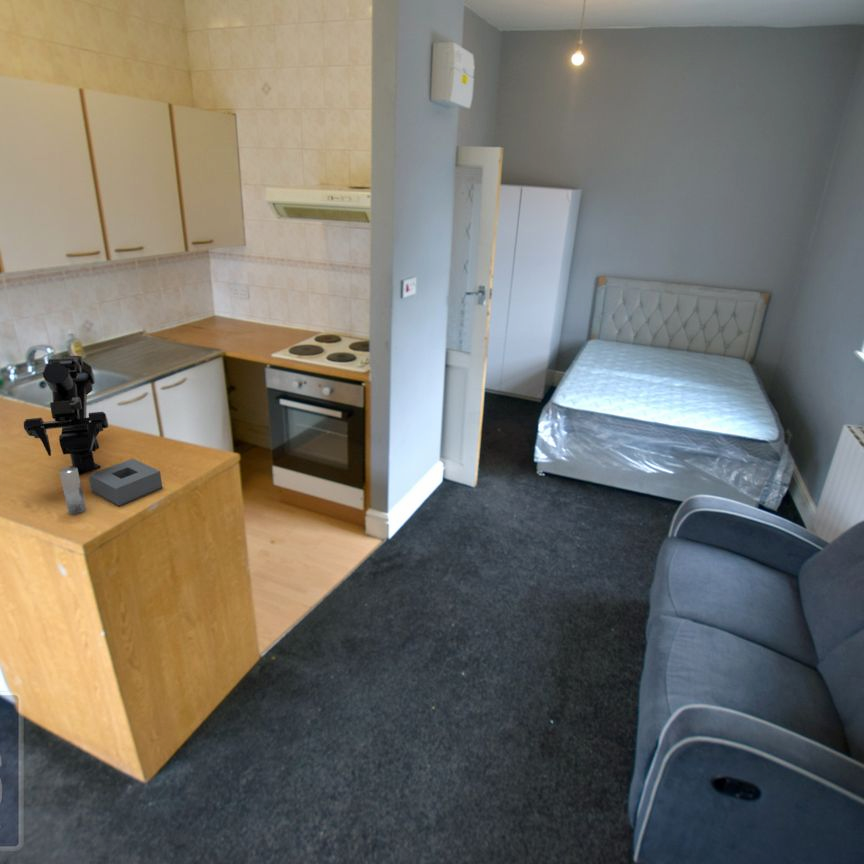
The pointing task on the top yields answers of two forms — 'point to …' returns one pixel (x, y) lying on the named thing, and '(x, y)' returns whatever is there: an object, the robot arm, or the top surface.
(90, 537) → the top surface
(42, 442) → the robot arm
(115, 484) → the slate socket block
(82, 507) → the aluminium peg
